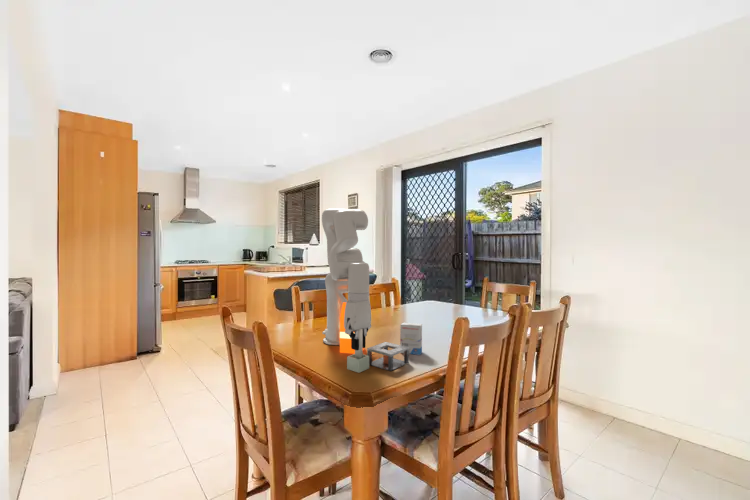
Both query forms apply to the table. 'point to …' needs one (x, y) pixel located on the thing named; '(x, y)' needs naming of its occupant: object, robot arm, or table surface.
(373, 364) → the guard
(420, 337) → the ink box
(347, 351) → the orange juice
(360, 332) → the grey rod
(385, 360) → the button
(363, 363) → the box
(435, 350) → the table surface
